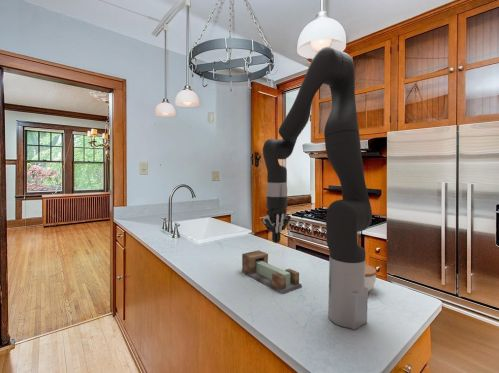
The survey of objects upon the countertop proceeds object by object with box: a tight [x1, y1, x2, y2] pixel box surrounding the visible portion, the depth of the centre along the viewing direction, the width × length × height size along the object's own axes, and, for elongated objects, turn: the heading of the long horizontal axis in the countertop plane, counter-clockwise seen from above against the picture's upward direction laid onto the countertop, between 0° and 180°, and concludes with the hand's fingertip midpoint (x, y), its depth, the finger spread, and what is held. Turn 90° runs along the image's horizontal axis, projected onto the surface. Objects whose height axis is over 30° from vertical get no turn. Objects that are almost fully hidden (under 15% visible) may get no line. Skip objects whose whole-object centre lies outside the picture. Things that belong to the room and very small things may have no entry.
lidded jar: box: [365, 263, 377, 292], centre depth 91 cm, size 11×11×9 cm
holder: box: [241, 249, 303, 295], centre depth 100 cm, size 24×9×8 cm, turn 37°
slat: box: [255, 259, 290, 285], centre depth 100 cm, size 20×3×4 cm, turn 37°
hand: (276, 242), depth 97 cm, fingers closed
